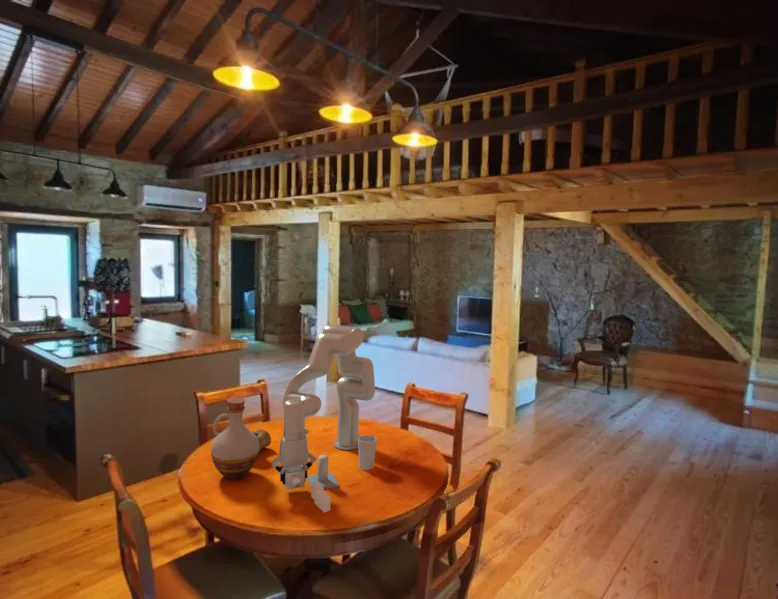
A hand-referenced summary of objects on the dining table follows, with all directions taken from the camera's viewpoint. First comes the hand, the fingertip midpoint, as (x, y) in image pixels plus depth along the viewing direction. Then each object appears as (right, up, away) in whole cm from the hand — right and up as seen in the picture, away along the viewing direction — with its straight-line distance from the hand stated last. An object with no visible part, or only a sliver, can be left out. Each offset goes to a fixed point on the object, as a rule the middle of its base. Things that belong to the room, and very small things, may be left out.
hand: (293, 481), depth 173 cm
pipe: (-23, -1, +32) cm, 40 cm away
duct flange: (+9, -4, +8) cm, 13 cm away
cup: (+25, -3, +23) cm, 35 cm away
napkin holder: (+11, -6, -6) cm, 14 cm away
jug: (-26, -2, +12) cm, 29 cm away
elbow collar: (+1, -1, -2) cm, 2 cm away
